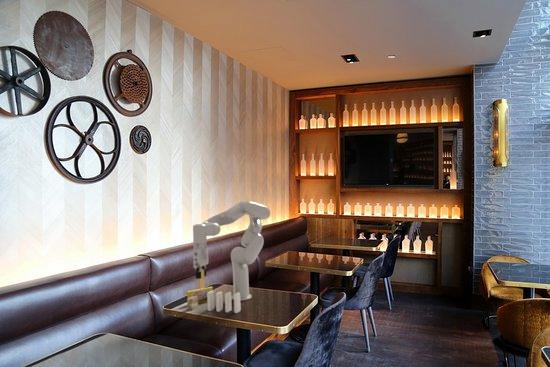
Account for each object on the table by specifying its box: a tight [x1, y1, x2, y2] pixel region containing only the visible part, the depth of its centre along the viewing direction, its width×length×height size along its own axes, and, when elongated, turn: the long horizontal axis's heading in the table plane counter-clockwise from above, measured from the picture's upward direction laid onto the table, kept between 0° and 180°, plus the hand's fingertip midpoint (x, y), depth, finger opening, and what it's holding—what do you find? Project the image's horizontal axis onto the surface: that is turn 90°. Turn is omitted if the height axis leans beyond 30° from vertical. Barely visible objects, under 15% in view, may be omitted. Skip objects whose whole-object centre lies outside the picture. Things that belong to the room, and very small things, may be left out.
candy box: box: [186, 286, 214, 306], centre depth 239 cm, size 16×2×8 cm, turn 126°
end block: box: [187, 296, 199, 311], centre depth 228 cm, size 3×6×6 cm, turn 161°
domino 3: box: [215, 290, 224, 313], centre depth 223 cm, size 2×5×10 cm, turn 161°
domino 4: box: [224, 291, 233, 313], centre depth 221 cm, size 2×5×10 cm, turn 161°
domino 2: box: [206, 290, 215, 312], centre depth 225 cm, size 2×5×10 cm, turn 161°
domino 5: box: [233, 292, 242, 314], centre depth 219 cm, size 2×5×10 cm, turn 161°
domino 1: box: [197, 269, 206, 289], centre depth 226 cm, size 2×5×10 cm, turn 161°
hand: (201, 277), depth 226 cm, fingers closed on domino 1, 4 cm apart
